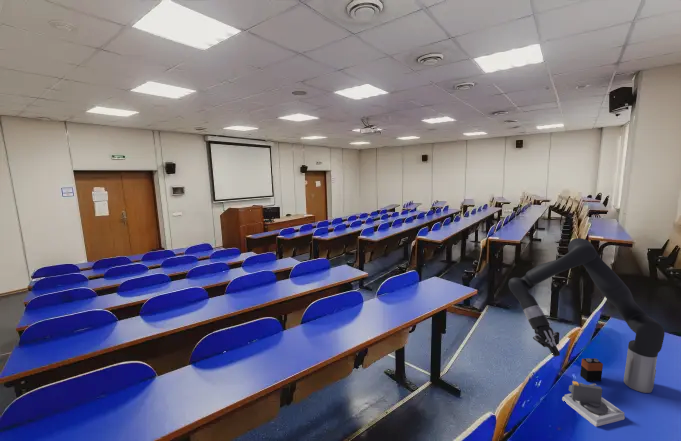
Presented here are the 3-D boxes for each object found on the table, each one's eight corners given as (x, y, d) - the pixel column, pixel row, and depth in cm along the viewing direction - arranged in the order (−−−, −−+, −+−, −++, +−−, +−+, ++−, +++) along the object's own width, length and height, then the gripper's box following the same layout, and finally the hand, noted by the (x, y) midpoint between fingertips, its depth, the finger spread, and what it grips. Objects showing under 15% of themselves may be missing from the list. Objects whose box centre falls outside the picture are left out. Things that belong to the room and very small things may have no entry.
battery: (579, 375, 142) (581, 356, 141) (593, 375, 142) (596, 356, 141) (586, 381, 138) (588, 362, 136) (601, 381, 138) (603, 362, 136)
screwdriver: (574, 394, 131) (574, 389, 130) (568, 390, 133) (569, 385, 133) (598, 388, 134) (598, 383, 133) (592, 384, 136) (592, 379, 136)
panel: (588, 393, 131) (589, 387, 130) (624, 419, 117) (625, 412, 117) (562, 399, 128) (562, 393, 128) (595, 426, 115) (596, 419, 114)
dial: (600, 400, 125) (603, 380, 123) (612, 417, 116) (615, 396, 115) (567, 394, 129) (569, 375, 127) (576, 410, 120) (578, 390, 119)
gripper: (529, 316, 136) (550, 356, 127) (553, 312, 139) (576, 351, 129) (519, 321, 142) (539, 360, 133) (542, 317, 145) (563, 355, 135)
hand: (557, 356), depth 131 cm, fingers closed
